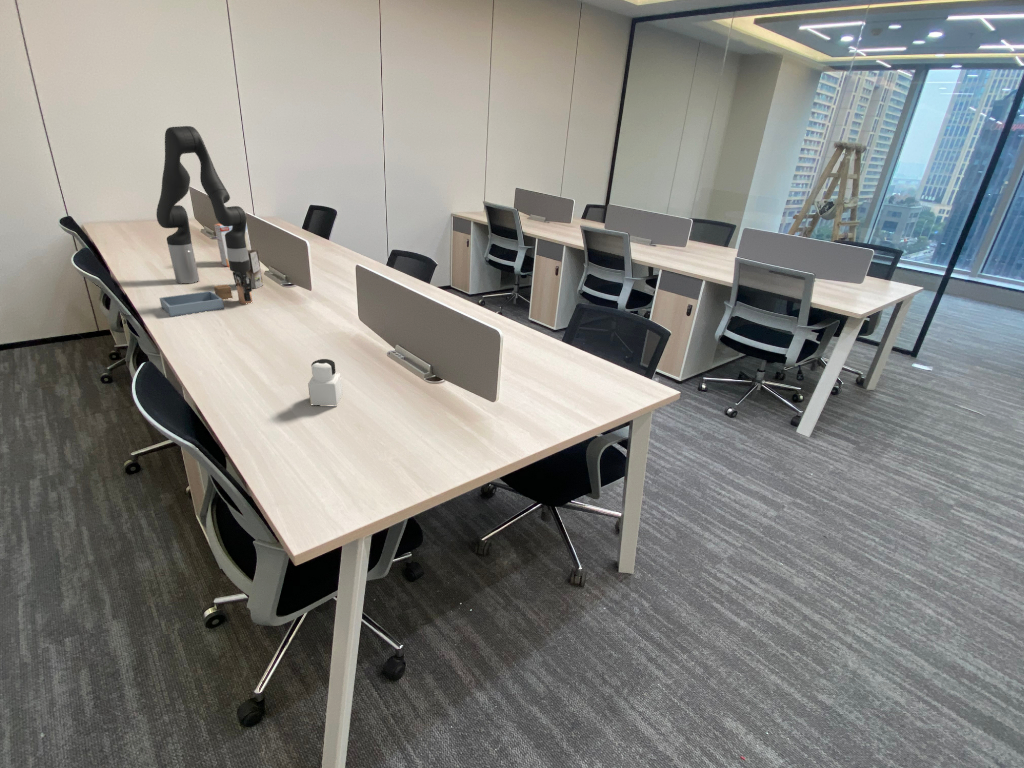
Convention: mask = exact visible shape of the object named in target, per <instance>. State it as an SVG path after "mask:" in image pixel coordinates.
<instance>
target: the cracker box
mask: <svg viewBox="0 0 1024 768" xmlns="http://www.w3.org/2000/svg"><path fill="white" fill-rule="evenodd" d="M213 225H214V230H215V234H216V236H215V237H216V240H217V244H218V245H217V246H218V250H219V255H220V261H221V265H222V266H225V267H228V268H230V267H229V261H228V255H227V246H226V240H225V234H226V233H227V232H229V231H231V230H232V227H233V226H223V225H221V224H220V223H215V224H213ZM245 241H246V247H247V250H252V247H251V242H250V236H249V229H248V224H247V222H246V231H245Z"/></svg>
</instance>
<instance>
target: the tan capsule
mask: <svg viewBox="0 0 1024 768" xmlns="http://www.w3.org/2000/svg"><path fill="white" fill-rule="evenodd" d="M246 289H248V288H246ZM236 292H237V297H238V303H239V304H240V303H241V304H240V305H249V304H248V303H251V302H252V301H253V295H252V292H250V297H251V301H245V299H244V292H243V289H242V287H240V285H238V286H236ZM246 303H247V304H246ZM252 303H253V302H252ZM252 303H251V304H252Z"/></svg>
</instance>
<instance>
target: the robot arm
mask: <svg viewBox="0 0 1024 768" xmlns="http://www.w3.org/2000/svg"><path fill="white" fill-rule="evenodd" d="M164 133H165V134H164V163H163V165H164V166H163V171H162V172H163V173H162V178H161V190H160V197H159V199H158V200H159V201H158V204H157V208H156V214H155V215H156V220H157V222H158V223H157V224H158V225H159V227H162V229H163V228H164V229H177V230H176V231H175V232H174V233H172V234H169V235H168V236H167V237H166V242H167V247H168V252H169V255H170V260H171V266H172V269H173V273H174V278H175V281H176V283H177V284H182V283H189V284H195V283H198V282H200V275H199V271H198V267H197V266H198V265H197V261H196V258H195V253H194V248H193V242H192V234H191V229H190V221H189V217H188V216H189V215H188V212H187V210H186V208H185V207H184V206H183V205H178V204H177V203H179V202H180V201H181V200H183V199H184V197H186V196H187V194H188V192H189V190H190V184H191V176H190V173H189V171H188V170H187V169H186V168H185V166H184V164H183V163H182V162H181V156H182V155H183V154H193V153H194V154H195V155H196V156H197V158H198V160H199V165H200V172H199V173H200V175H199V176H200V184H201V186H202V188H203V190H204V192H205V194H207V197H208V198H209V200H210V202H211V205H212V206H211V207H212V209H213V213H214V216H215V218H216V220H217V222H218V224H221V225H223V226H233V227H232V230H231V231H229V232H227V233H226V234H225V240H226V246H227V255H228V261H229V267H228V268H229V270H230V271H231V272H232V276H233V279H234V284H235V287H237V286H238V285H240V287H242V289H243V292H244V299H245V301H251V297H250V292H251V293H252V291H253V290H252V289H253V288H251V279H250V278H249V277H248V275H247V273H246V272H247V271H249V270H250V269H251V268H250V262H249V256H248V251H247V247H246V241H245V231H246V223H247V221H248V220H247V218H248V217H247V214H246V212H245V210H244V209H243V207H240V206H237V205H236V206H235V205H233V206H226V203H228V202H229V201H230V199H231V196H230V193H229V191H228V190H227V189H226V186H225V185H224V183H223V182H222V180H221V179H220V177H219V175H218V172H217V171H216V168H215V166H214V164H213V161H212V158H211V156H210V154H209V152H208V149H207V147H206V145H205V142H204V140H203V138H202V135H201V134H200V133H199V131H198V129H196V128H195V127H193V126H191V125H190V126H189V125H185V126H184V125H183V126H180V125H179V126H170V127H167V129H166V130H165V132H164ZM197 281H198V282H197ZM194 282H195V283H194ZM246 288H248V289H246Z"/></svg>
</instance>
